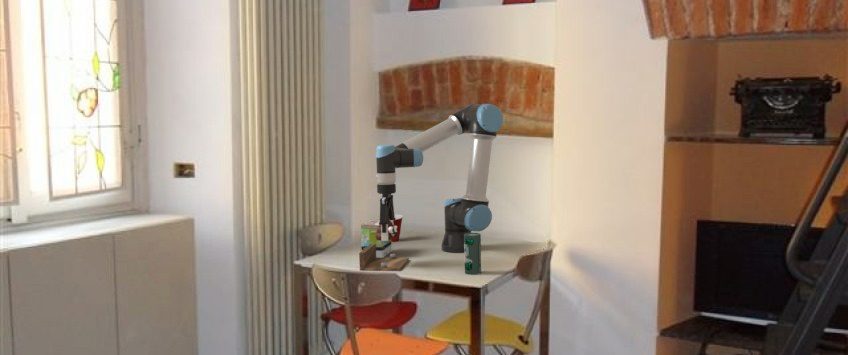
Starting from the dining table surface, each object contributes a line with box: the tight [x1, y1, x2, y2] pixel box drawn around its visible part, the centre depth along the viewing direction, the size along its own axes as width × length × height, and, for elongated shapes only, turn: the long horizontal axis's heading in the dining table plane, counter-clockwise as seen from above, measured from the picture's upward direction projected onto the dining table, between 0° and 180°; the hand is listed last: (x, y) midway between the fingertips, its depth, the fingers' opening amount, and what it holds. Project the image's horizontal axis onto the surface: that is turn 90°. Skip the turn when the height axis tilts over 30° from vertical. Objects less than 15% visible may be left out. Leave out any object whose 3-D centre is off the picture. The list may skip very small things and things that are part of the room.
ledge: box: [358, 243, 410, 272], centre depth 303 cm, size 16×20×7 cm
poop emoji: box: [375, 216, 398, 240], centre depth 301 cm, size 10×8×9 cm
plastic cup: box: [391, 214, 404, 243], centre depth 356 cm, size 11×11×12 cm
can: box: [463, 232, 482, 275], centre depth 285 cm, size 6×6×15 cm
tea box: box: [360, 219, 393, 258], centre depth 323 cm, size 15×10×15 cm, turn 168°
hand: (387, 238), depth 302 cm, fingers closed on poop emoji, 10 cm apart
